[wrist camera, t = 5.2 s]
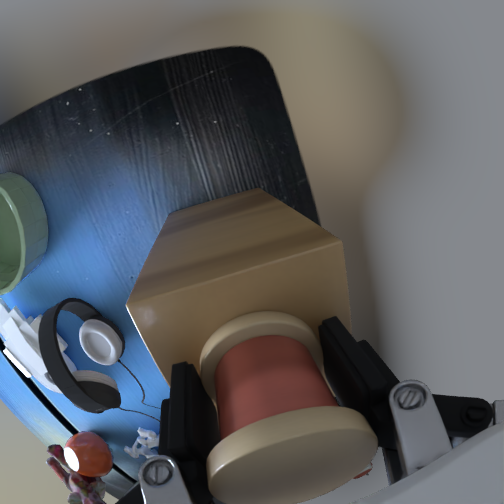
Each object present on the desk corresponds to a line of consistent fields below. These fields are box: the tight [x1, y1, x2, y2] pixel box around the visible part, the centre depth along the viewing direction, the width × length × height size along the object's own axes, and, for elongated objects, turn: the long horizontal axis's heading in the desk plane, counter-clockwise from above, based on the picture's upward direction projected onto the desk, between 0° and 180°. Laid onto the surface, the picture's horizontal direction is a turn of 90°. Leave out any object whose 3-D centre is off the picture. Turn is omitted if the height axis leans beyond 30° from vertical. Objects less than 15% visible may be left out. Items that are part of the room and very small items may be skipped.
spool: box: [200, 311, 378, 504], centre depth 9 cm, size 5×5×6 cm
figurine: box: [46, 444, 106, 504], centre depth 27 cm, size 8×12×15 cm
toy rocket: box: [0, 298, 78, 393], centre depth 25 cm, size 16×10×2 cm, turn 32°
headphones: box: [38, 298, 161, 422], centre depth 24 cm, size 10×4×20 cm
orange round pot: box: [64, 431, 113, 478], centre depth 29 cm, size 7×7×8 cm
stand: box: [126, 188, 352, 423], centre depth 19 cm, size 8×8×16 cm
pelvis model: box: [124, 427, 159, 458], centre depth 31 cm, size 8×4×7 cm
